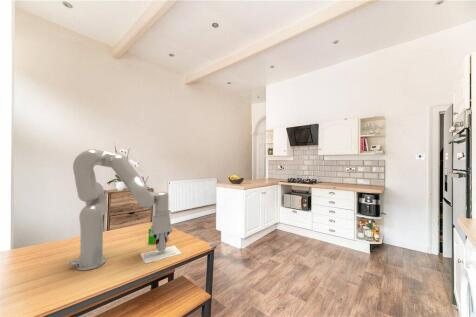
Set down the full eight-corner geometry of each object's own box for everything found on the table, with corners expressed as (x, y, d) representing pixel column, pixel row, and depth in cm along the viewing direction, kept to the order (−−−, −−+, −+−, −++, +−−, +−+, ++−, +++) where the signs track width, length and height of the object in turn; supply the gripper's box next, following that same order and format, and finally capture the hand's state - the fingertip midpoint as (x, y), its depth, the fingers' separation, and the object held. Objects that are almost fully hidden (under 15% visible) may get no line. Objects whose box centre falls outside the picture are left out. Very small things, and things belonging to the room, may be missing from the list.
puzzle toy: (168, 238, 141) (168, 223, 141) (164, 244, 131) (164, 228, 131) (153, 238, 140) (153, 224, 140) (148, 244, 130) (148, 229, 130)
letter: (145, 263, 106) (145, 263, 106) (140, 254, 117) (140, 253, 117) (181, 253, 118) (181, 253, 118) (174, 245, 128) (174, 245, 128)
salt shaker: (155, 252, 114) (155, 229, 114) (156, 248, 120) (156, 226, 120) (166, 251, 116) (166, 228, 116) (166, 247, 121) (167, 225, 121)
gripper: (173, 209, 126) (173, 239, 125) (145, 213, 116) (144, 245, 116) (177, 212, 120) (177, 243, 119) (148, 217, 110) (147, 250, 110)
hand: (161, 244), depth 118 cm, fingers closed on salt shaker, 3 cm apart
